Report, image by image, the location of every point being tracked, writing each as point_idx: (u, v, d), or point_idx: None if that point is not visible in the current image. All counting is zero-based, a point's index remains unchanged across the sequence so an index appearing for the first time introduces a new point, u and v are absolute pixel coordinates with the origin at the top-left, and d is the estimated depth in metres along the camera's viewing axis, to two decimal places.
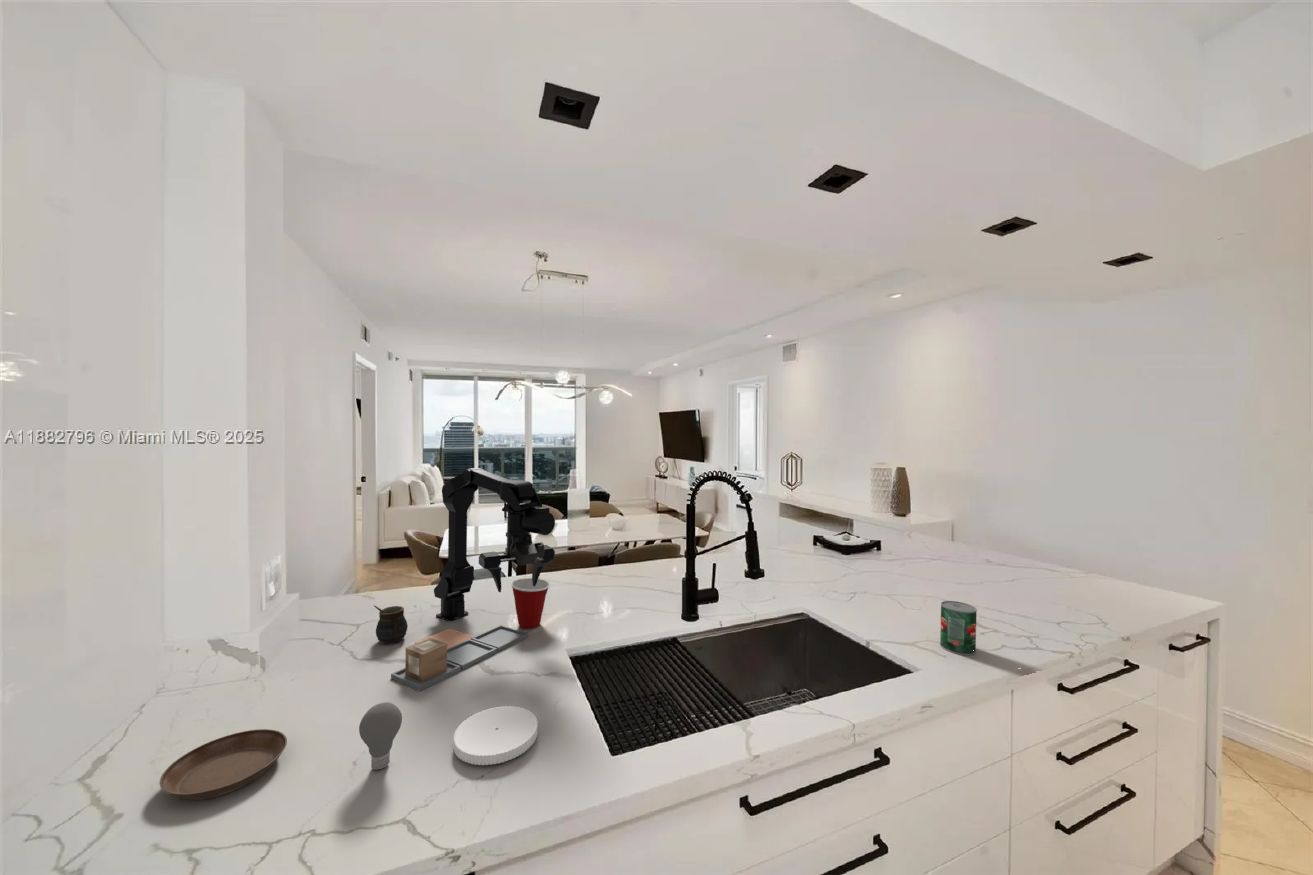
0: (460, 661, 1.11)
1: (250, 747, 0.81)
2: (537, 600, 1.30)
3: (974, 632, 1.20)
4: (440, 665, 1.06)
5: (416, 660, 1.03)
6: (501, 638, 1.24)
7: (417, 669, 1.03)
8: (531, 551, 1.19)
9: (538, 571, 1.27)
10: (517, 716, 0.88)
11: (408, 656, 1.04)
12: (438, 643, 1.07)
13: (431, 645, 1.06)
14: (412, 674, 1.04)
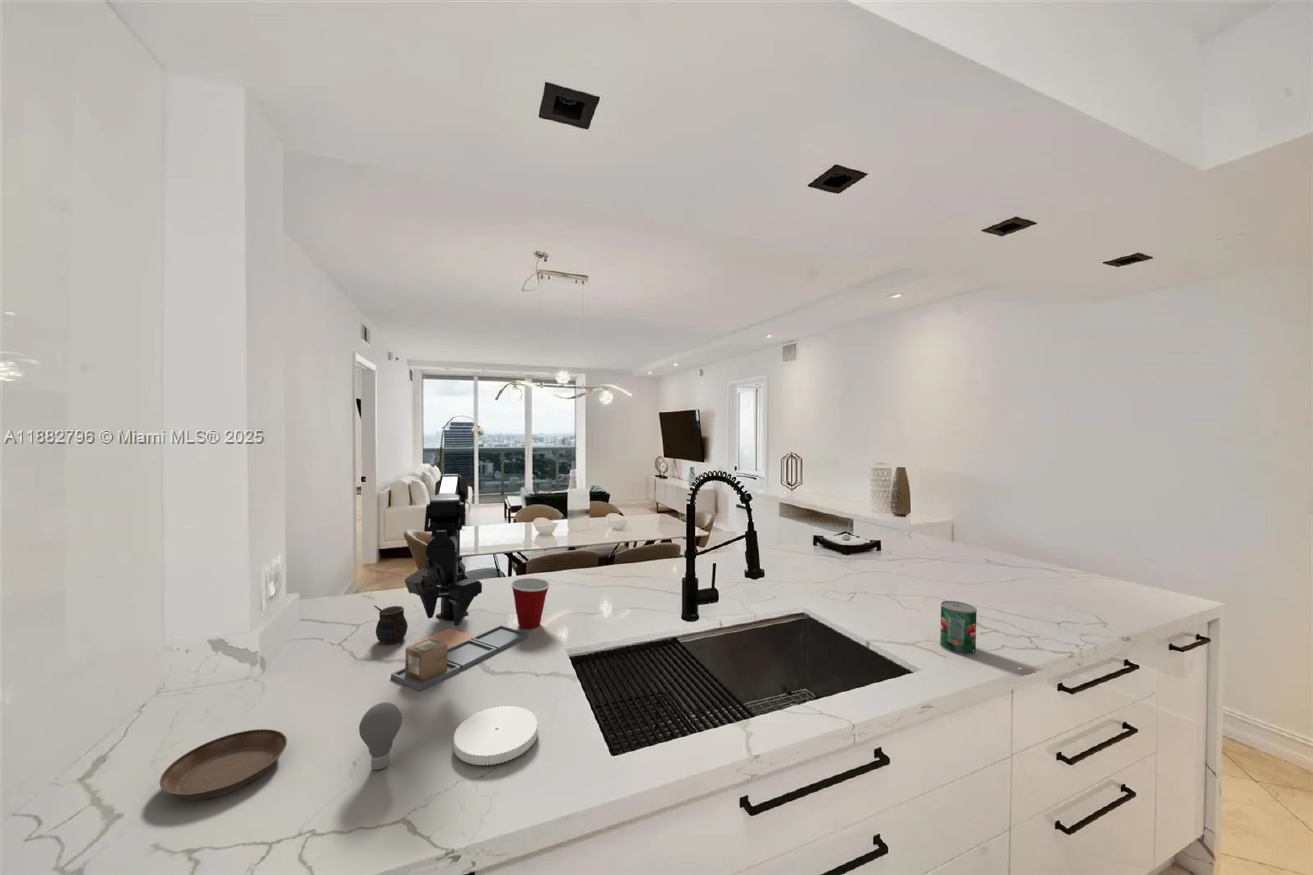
0: (460, 661, 1.11)
1: (250, 747, 0.81)
2: (537, 600, 1.30)
3: (974, 632, 1.20)
4: (440, 665, 1.06)
5: (416, 660, 1.03)
6: (501, 638, 1.24)
7: (417, 669, 1.03)
8: (416, 579, 1.02)
9: (454, 609, 1.05)
10: (518, 716, 0.88)
11: (408, 656, 1.04)
12: (438, 643, 1.07)
13: (431, 645, 1.06)
14: (412, 674, 1.04)
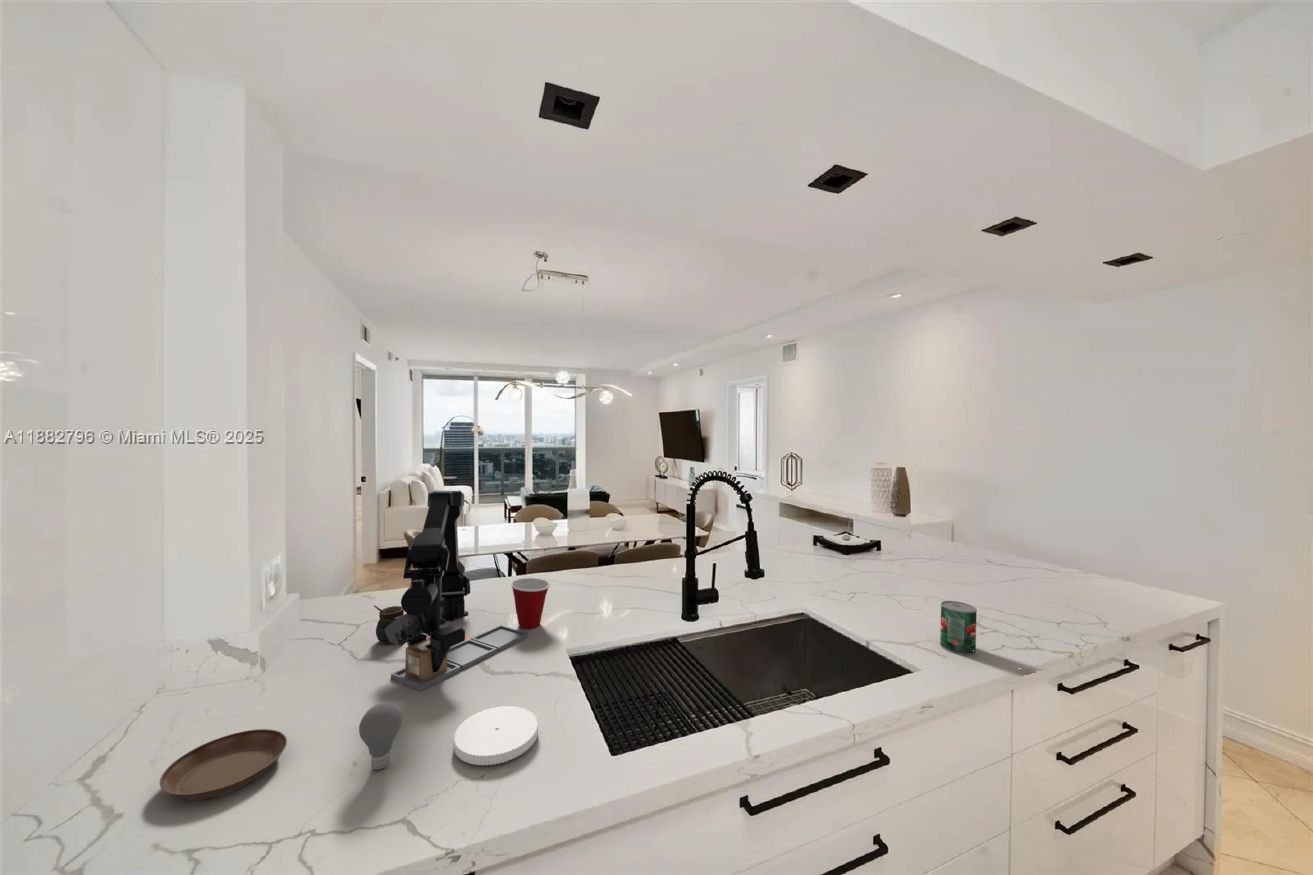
0: (460, 661, 1.11)
1: (249, 747, 0.81)
2: (537, 600, 1.30)
3: (974, 632, 1.20)
4: None
5: (416, 660, 1.03)
6: (501, 638, 1.24)
7: (417, 669, 1.03)
8: (396, 629, 0.99)
9: (432, 656, 1.03)
10: (518, 716, 0.88)
11: (408, 656, 1.04)
12: None
13: None
14: (412, 674, 1.04)
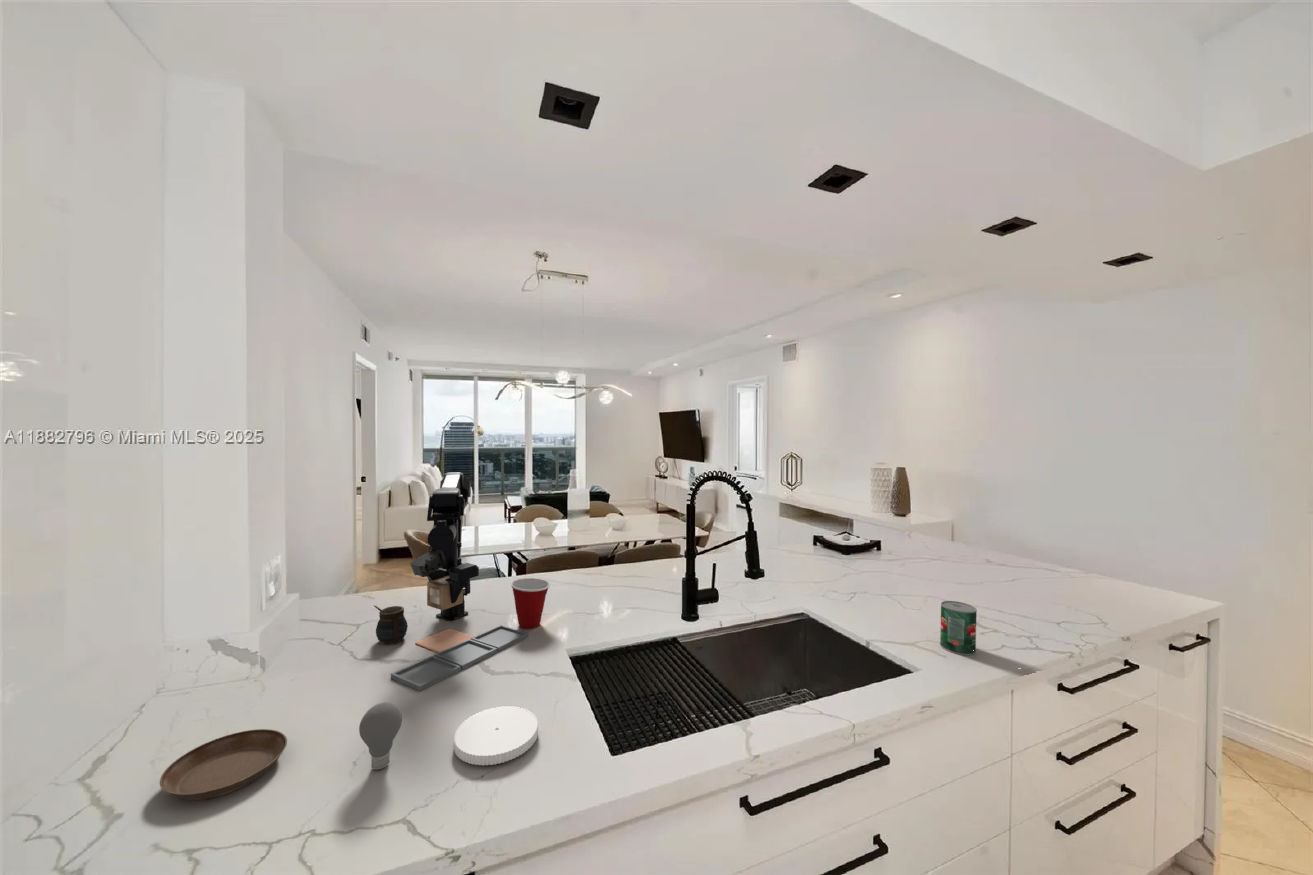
0: (460, 661, 1.11)
1: (249, 747, 0.81)
2: (537, 600, 1.30)
3: (974, 632, 1.20)
4: None
5: (437, 592, 1.19)
6: (501, 638, 1.24)
7: (437, 600, 1.19)
8: (420, 563, 1.15)
9: (450, 588, 1.19)
10: (518, 716, 0.88)
11: (429, 589, 1.20)
12: None
13: None
14: (433, 604, 1.20)
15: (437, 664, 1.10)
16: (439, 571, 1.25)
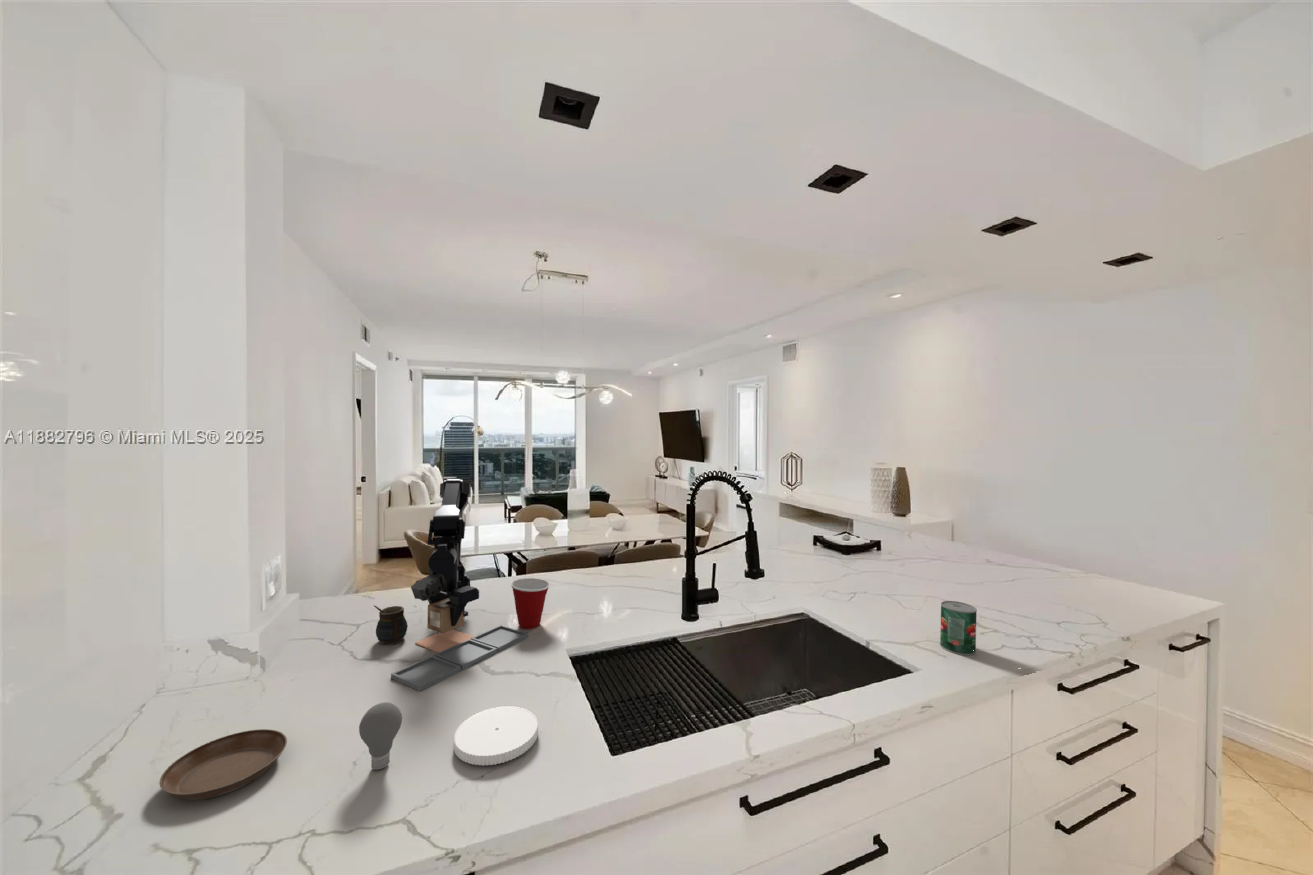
0: (460, 661, 1.11)
1: (249, 748, 0.81)
2: (537, 600, 1.30)
3: (974, 632, 1.20)
4: None
5: (437, 615, 1.20)
6: (501, 638, 1.24)
7: (437, 623, 1.19)
8: (420, 587, 1.16)
9: (451, 611, 1.20)
10: (518, 716, 0.88)
11: (430, 612, 1.21)
12: None
13: None
14: (433, 627, 1.20)
15: (437, 664, 1.10)
16: (439, 594, 1.25)
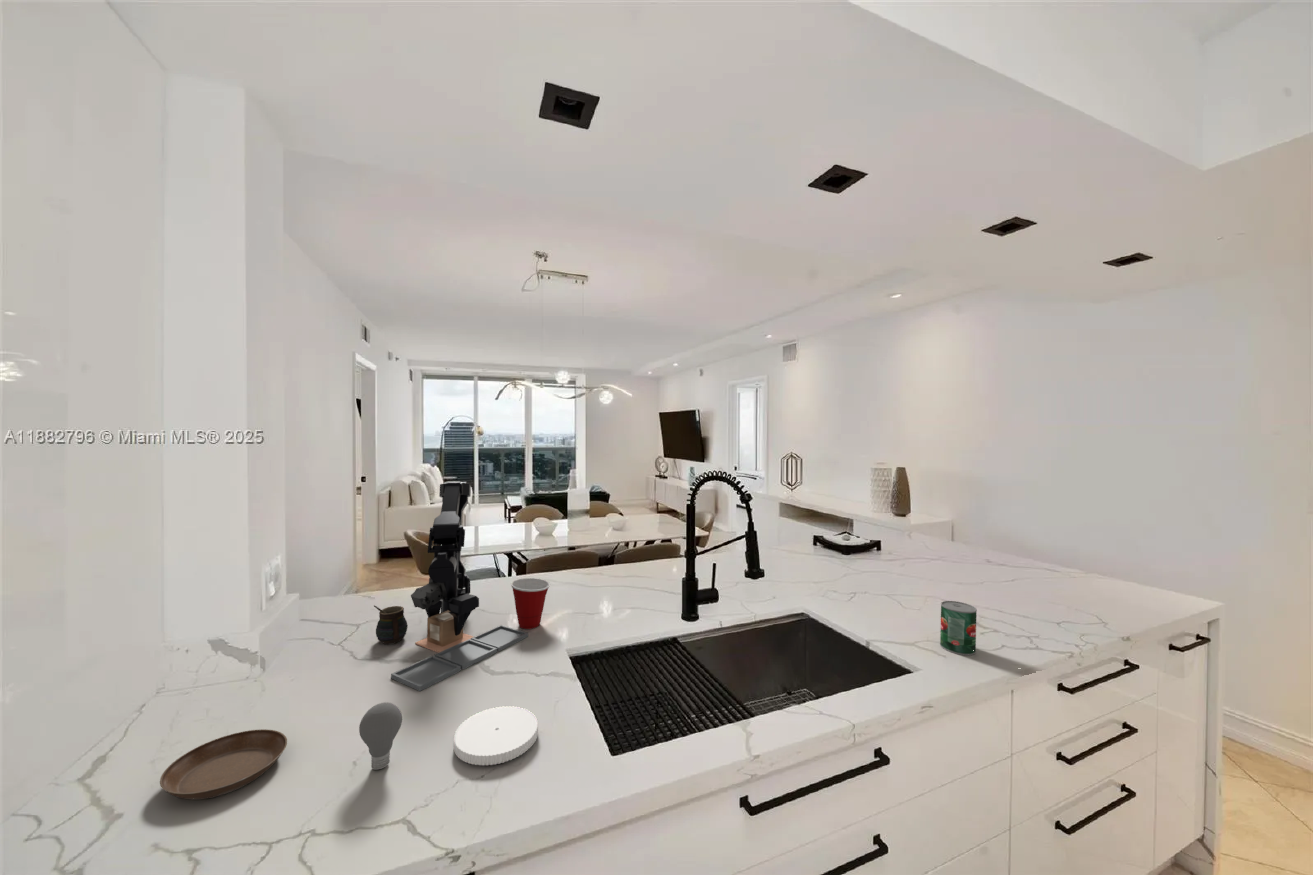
0: (460, 661, 1.11)
1: (248, 748, 0.81)
2: (537, 600, 1.30)
3: (974, 632, 1.20)
4: None
5: (437, 628, 1.20)
6: (501, 638, 1.24)
7: (437, 636, 1.20)
8: (420, 595, 1.16)
9: (454, 621, 1.19)
10: (518, 716, 0.88)
11: (430, 625, 1.21)
12: None
13: (449, 615, 1.23)
14: (433, 640, 1.20)
15: (437, 664, 1.10)
16: None
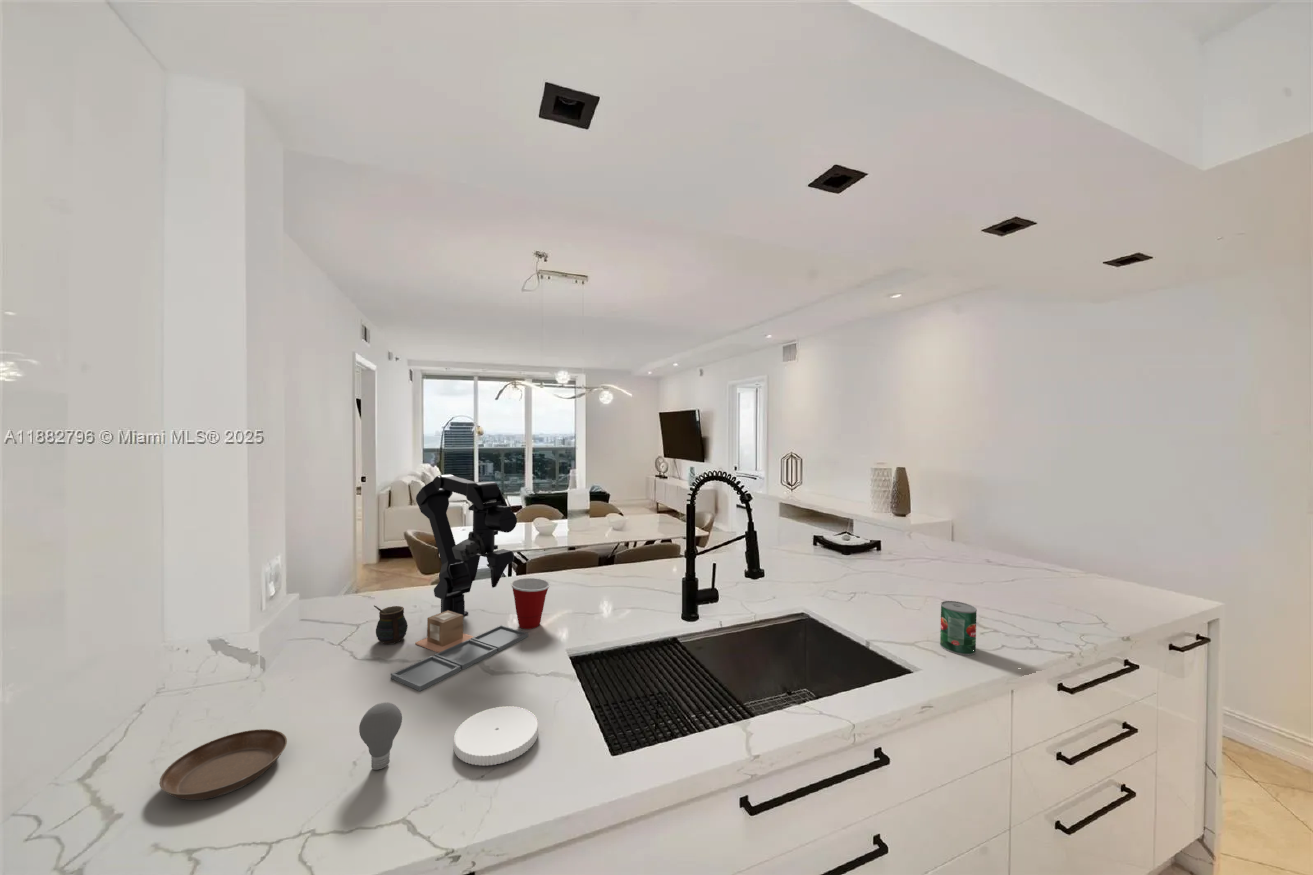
0: (460, 661, 1.11)
1: (248, 748, 0.81)
2: (537, 600, 1.30)
3: (974, 632, 1.20)
4: (457, 633, 1.22)
5: (437, 628, 1.20)
6: (501, 638, 1.24)
7: (437, 636, 1.20)
8: (461, 548, 1.25)
9: (491, 573, 1.28)
10: (518, 716, 0.87)
11: (430, 625, 1.21)
12: (455, 614, 1.24)
13: (449, 615, 1.23)
14: (433, 640, 1.20)
15: (437, 664, 1.10)
16: (474, 556, 1.35)
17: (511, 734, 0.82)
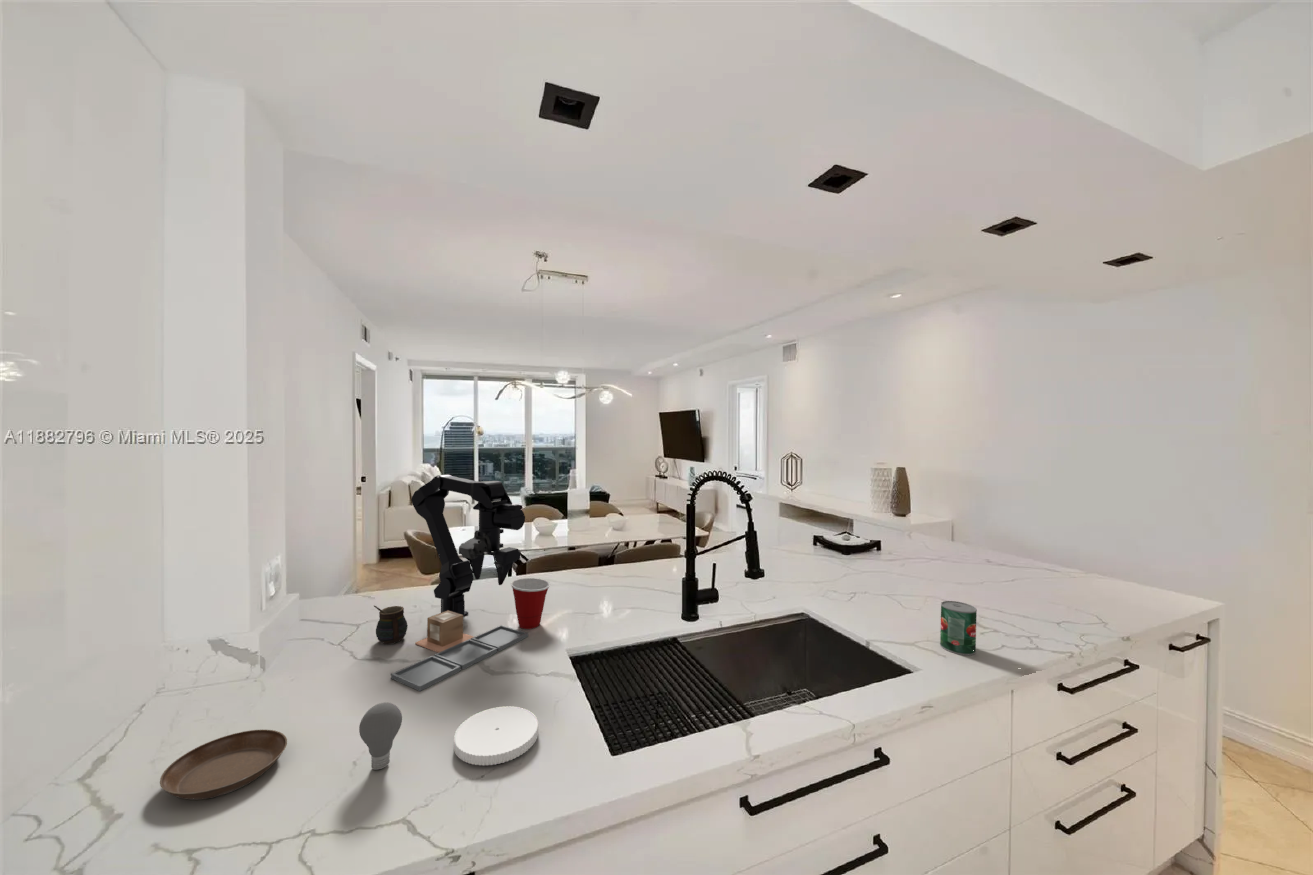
0: (460, 661, 1.11)
1: (248, 748, 0.80)
2: (537, 600, 1.30)
3: (974, 632, 1.20)
4: (457, 633, 1.22)
5: (437, 628, 1.20)
6: (501, 638, 1.24)
7: (437, 636, 1.20)
8: (468, 546, 1.26)
9: (498, 571, 1.30)
10: (518, 716, 0.87)
11: (430, 625, 1.21)
12: (455, 614, 1.24)
13: (449, 615, 1.23)
14: (433, 640, 1.20)
15: (437, 664, 1.10)
16: (479, 555, 1.37)
17: (511, 734, 0.82)
